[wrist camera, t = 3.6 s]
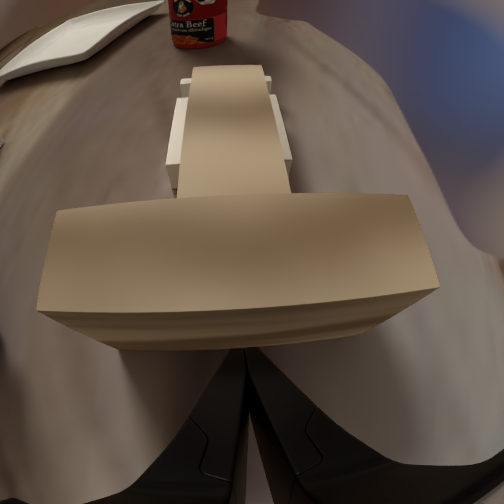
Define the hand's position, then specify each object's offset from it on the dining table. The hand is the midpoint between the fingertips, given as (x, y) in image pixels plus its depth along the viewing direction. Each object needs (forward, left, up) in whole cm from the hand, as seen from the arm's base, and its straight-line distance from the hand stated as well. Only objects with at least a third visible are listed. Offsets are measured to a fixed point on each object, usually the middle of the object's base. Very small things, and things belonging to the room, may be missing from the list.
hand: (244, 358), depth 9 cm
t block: (+6, -6, -7) cm, 11 cm away
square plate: (+58, -18, -7) cm, 61 cm away
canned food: (+32, -27, -7) cm, 42 cm away
